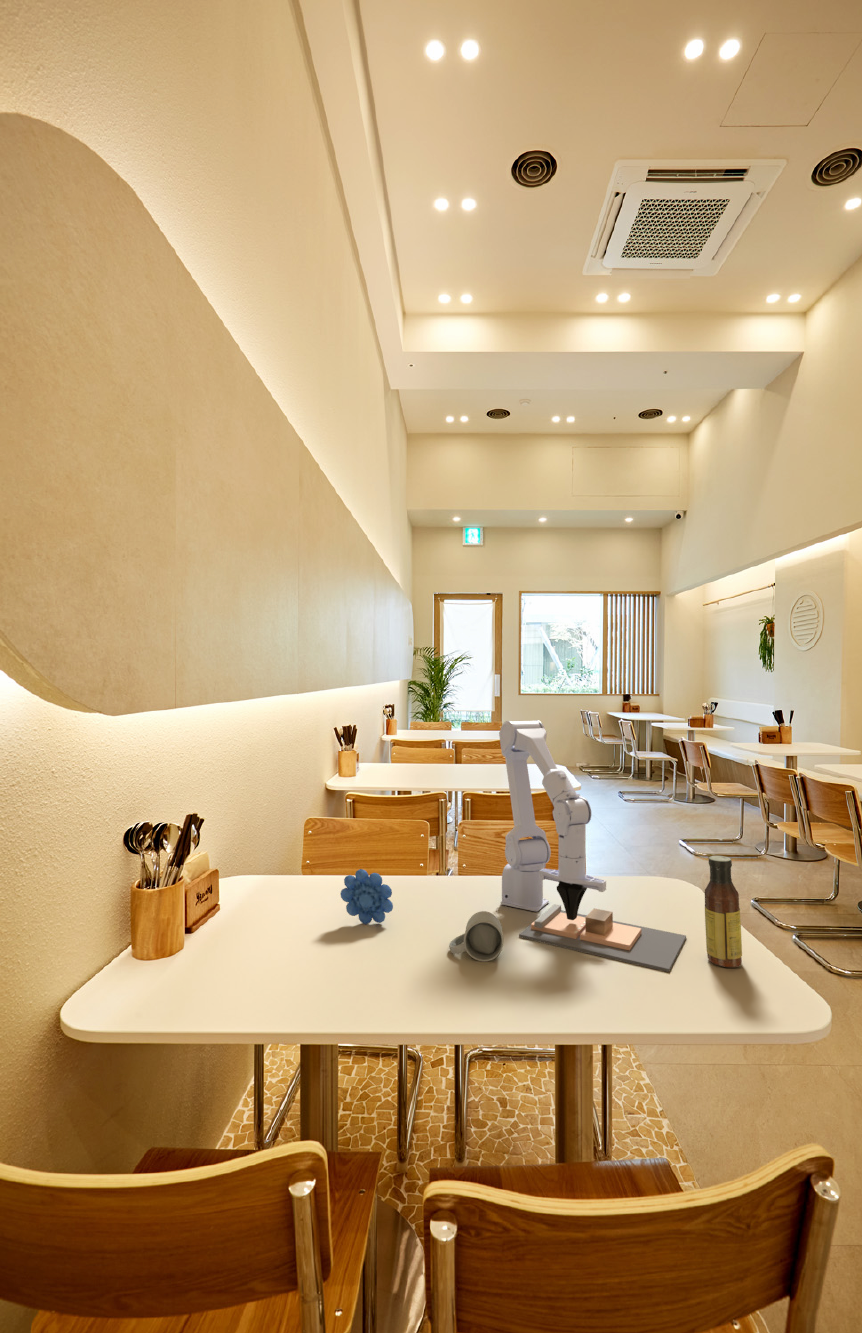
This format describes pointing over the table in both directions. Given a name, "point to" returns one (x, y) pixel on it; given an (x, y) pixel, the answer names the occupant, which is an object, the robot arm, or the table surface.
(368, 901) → the blue flower rosette
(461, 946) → the ceramic mug
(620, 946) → the peach square slab
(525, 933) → the mat
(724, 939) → the sauce bottle
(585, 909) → the table surface
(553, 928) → the ticket
